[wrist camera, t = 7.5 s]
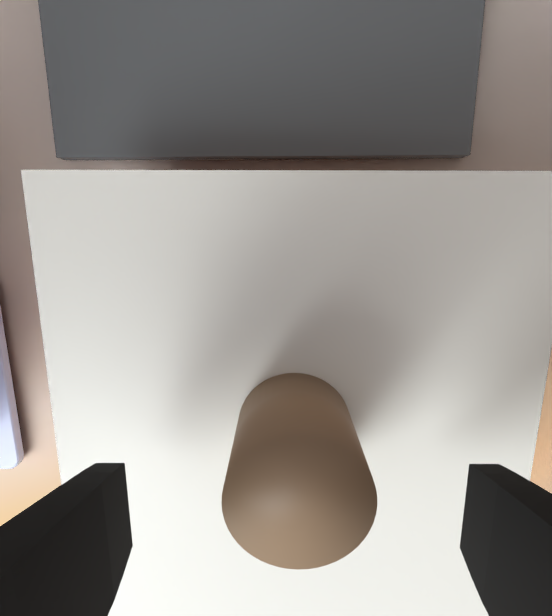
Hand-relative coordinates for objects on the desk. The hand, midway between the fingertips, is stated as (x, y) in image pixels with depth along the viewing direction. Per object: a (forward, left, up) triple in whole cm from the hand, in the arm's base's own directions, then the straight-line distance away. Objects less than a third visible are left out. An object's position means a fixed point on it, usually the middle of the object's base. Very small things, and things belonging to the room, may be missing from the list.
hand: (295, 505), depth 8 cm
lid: (0, 0, -3) cm, 3 cm away
